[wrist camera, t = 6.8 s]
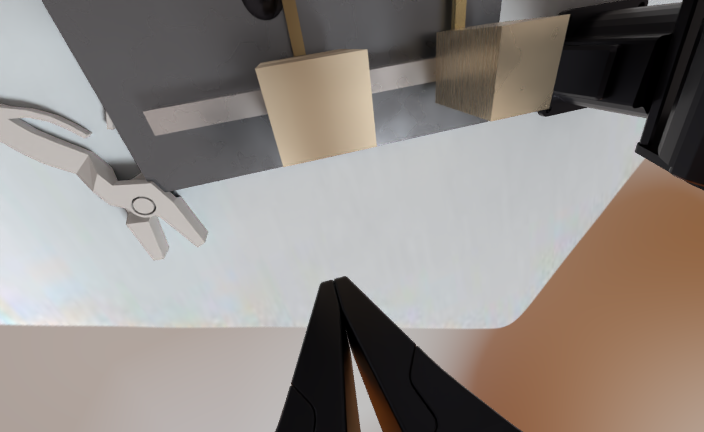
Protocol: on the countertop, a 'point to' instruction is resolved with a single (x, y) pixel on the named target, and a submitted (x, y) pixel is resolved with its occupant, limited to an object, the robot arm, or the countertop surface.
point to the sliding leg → (317, 99)
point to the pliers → (103, 179)
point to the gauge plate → (274, 44)
